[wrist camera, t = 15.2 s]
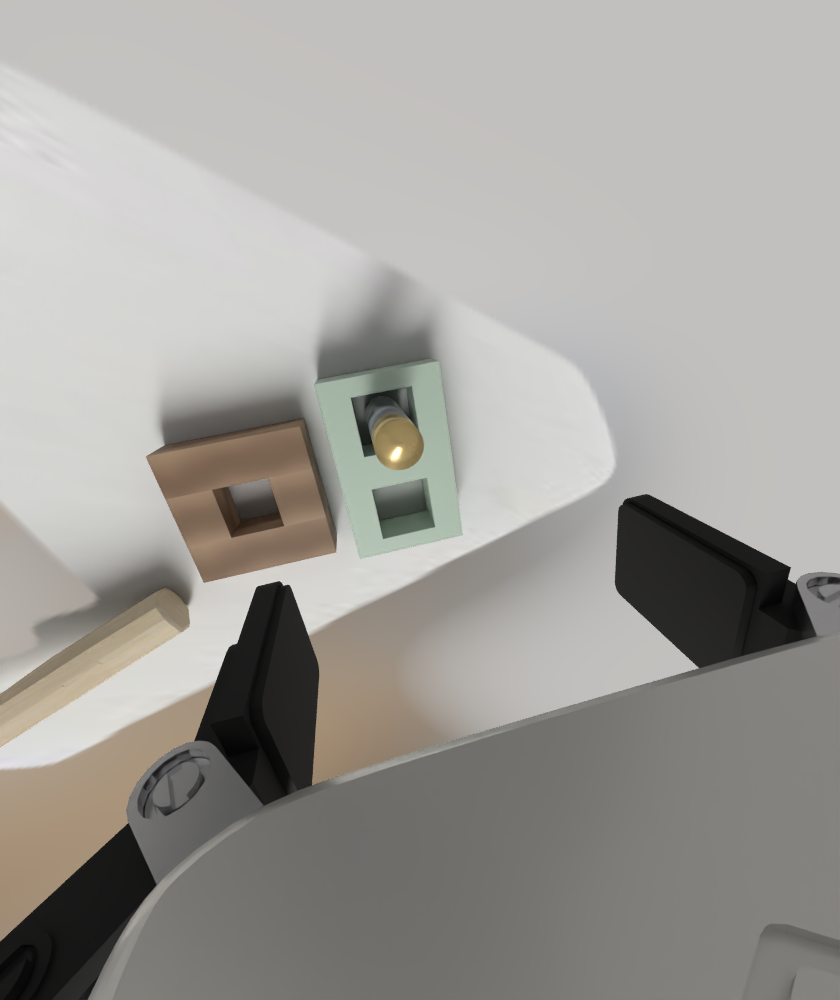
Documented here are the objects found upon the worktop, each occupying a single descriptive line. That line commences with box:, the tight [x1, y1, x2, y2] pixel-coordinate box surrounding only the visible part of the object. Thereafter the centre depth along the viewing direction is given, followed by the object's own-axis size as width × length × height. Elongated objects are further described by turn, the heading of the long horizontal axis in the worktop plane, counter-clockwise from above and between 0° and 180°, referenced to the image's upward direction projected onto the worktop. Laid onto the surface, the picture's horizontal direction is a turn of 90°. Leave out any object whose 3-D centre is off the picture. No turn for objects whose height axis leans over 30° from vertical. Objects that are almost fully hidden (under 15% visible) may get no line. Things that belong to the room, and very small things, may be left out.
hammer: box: [0, 588, 190, 747], centre depth 35 cm, size 16×5×30 cm
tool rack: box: [314, 359, 463, 559], centre depth 36 cm, size 16×10×4 cm, turn 9°
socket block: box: [146, 418, 337, 583], centre depth 35 cm, size 12×12×4 cm
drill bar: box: [365, 396, 424, 470], centre depth 31 cm, size 3×3×12 cm
